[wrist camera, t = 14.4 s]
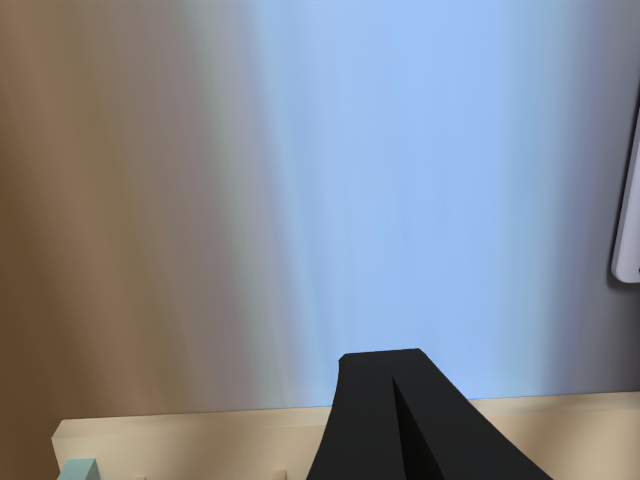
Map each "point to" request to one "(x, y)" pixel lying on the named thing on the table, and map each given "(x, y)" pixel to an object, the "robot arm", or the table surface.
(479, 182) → the table surface
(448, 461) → the robot arm
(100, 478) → the roller bed
